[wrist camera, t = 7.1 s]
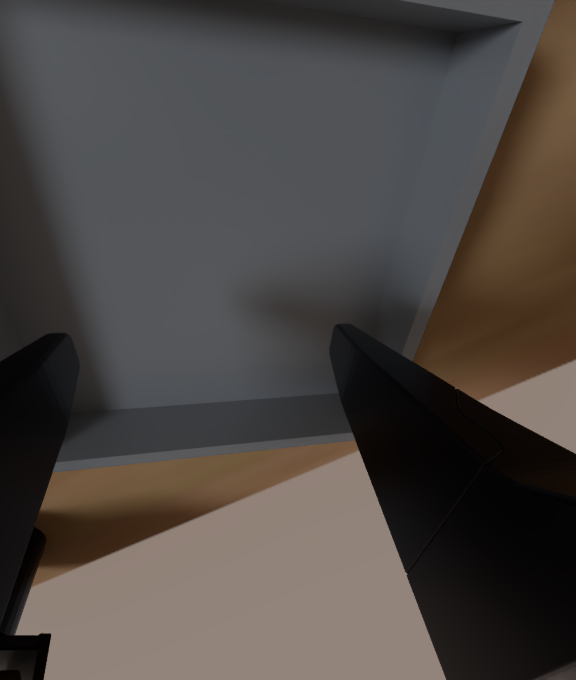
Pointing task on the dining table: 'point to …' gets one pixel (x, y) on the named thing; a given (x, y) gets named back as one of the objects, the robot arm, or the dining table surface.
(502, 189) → the dining table surface
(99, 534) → the dining table surface
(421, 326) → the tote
